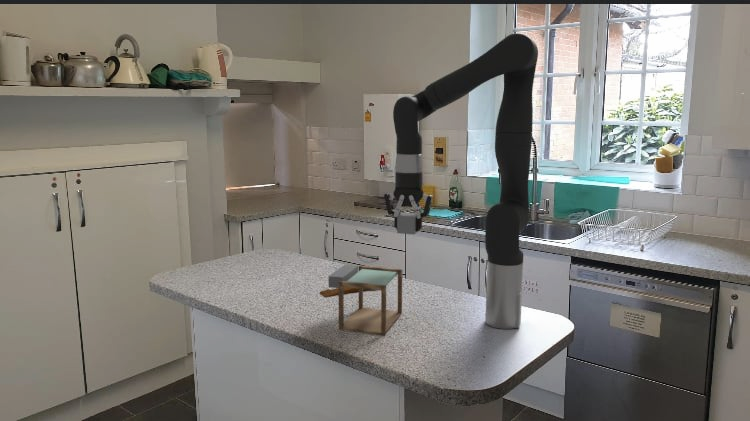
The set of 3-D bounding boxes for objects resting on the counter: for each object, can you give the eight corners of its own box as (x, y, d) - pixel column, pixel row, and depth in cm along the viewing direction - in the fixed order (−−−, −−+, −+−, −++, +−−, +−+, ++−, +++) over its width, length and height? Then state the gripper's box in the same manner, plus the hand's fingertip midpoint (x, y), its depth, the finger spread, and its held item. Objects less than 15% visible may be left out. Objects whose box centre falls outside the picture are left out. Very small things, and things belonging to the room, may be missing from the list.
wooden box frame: (401, 313, 163) (402, 269, 161) (384, 335, 148) (385, 286, 146) (359, 309, 167) (359, 265, 165) (338, 329, 152) (338, 281, 149)
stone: (419, 230, 165) (419, 213, 164) (414, 234, 160) (414, 216, 159) (402, 229, 166) (402, 212, 165) (397, 233, 162) (397, 215, 161)
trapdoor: (396, 278, 161) (396, 268, 160) (381, 294, 148) (381, 282, 147) (345, 274, 165) (345, 263, 165) (327, 288, 152) (327, 277, 152)
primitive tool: (324, 298, 177) (324, 287, 177) (318, 293, 182) (318, 283, 182) (381, 290, 185) (381, 280, 185) (373, 286, 190) (373, 276, 190)
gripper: (437, 169, 161) (436, 229, 164) (388, 167, 166) (387, 226, 169) (431, 172, 154) (429, 235, 157) (380, 170, 159) (379, 231, 162)
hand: (408, 230), depth 163 cm, fingers closed on stone, 5 cm apart
